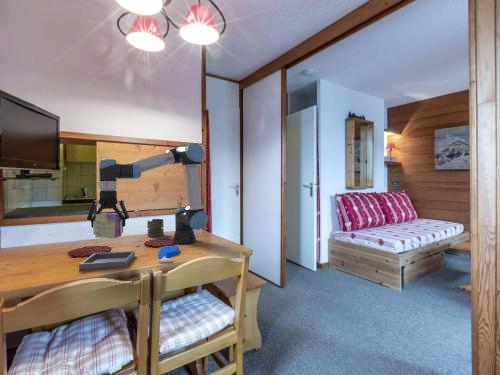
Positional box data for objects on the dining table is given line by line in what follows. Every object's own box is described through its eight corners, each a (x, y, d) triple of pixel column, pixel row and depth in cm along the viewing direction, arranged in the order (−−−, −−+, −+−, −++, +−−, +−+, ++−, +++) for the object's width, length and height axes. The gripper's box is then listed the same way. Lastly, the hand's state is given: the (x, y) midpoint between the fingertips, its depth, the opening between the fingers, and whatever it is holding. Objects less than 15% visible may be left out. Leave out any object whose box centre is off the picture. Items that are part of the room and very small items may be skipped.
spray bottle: (160, 246, 150) (153, 259, 126) (179, 245, 152) (176, 258, 128) (160, 251, 150) (153, 265, 126) (179, 250, 152) (176, 263, 129)
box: (122, 235, 129) (121, 212, 129) (114, 238, 124) (114, 214, 123) (102, 235, 130) (102, 212, 130) (95, 237, 125) (94, 214, 124)
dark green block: (144, 220, 185) (153, 218, 196) (144, 237, 186) (153, 234, 197) (157, 221, 183) (166, 219, 194) (157, 238, 183) (166, 234, 194)
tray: (134, 256, 138) (134, 251, 138) (125, 267, 121) (125, 261, 121) (94, 258, 134) (94, 253, 134) (79, 270, 117) (79, 264, 117)
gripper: (78, 190, 120) (78, 236, 121) (131, 190, 125) (132, 234, 126) (84, 190, 128) (85, 232, 128) (135, 189, 133) (135, 231, 133)
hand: (108, 233), depth 127 cm, fingers closed on box, 11 cm apart
